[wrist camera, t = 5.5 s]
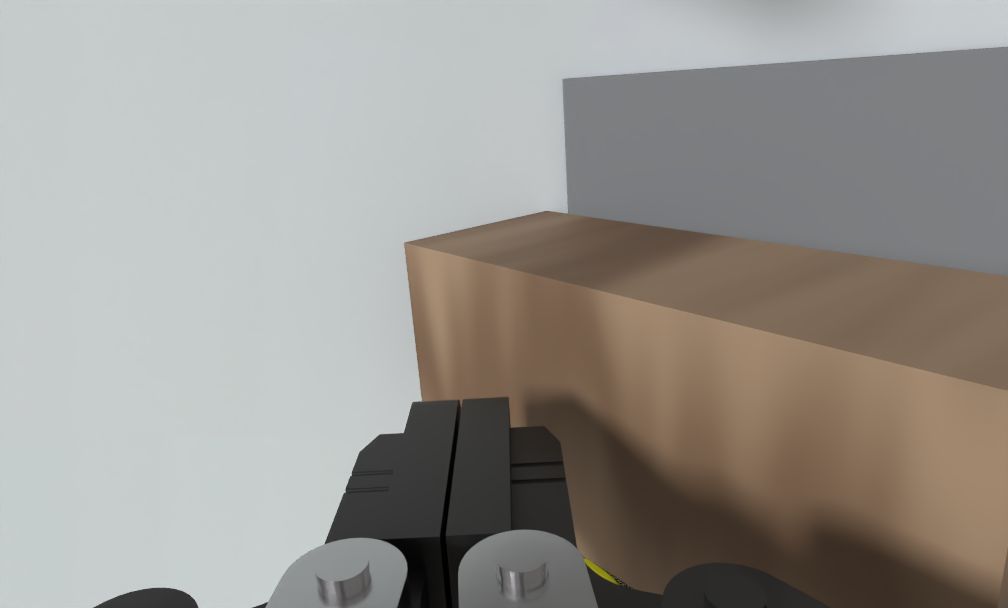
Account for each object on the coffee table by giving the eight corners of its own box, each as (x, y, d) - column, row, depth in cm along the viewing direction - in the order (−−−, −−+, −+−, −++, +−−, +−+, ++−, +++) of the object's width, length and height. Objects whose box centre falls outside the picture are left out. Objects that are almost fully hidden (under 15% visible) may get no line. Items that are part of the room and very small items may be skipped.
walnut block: (403, 242, 15) (1033, 396, 7) (546, 211, 17) (1143, 295, 9) (428, 456, 16) (964, 802, 8) (556, 400, 19) (1072, 622, 10)
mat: (562, 78, 16) (563, 79, 16) (1142, 36, 16) (1150, 36, 16) (580, 499, 20) (581, 503, 19) (1060, 469, 19) (1065, 473, 19)
